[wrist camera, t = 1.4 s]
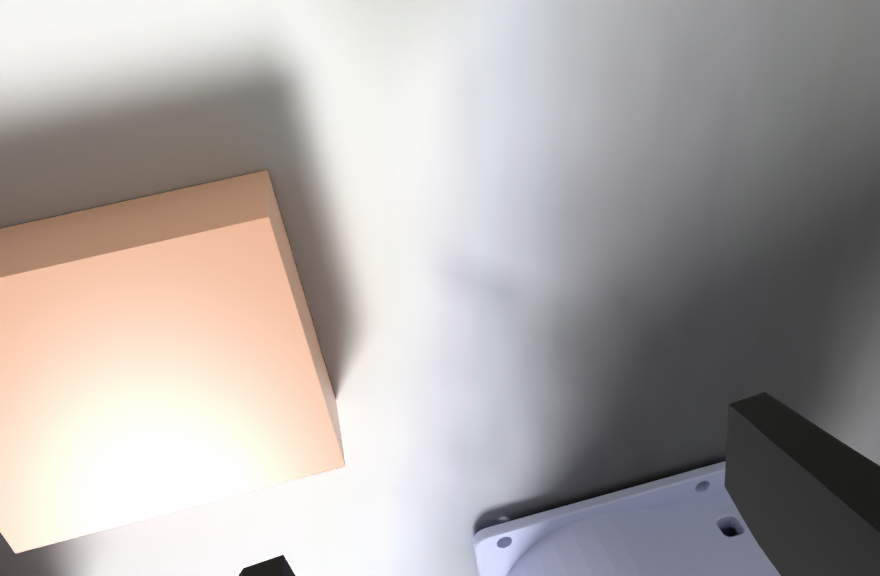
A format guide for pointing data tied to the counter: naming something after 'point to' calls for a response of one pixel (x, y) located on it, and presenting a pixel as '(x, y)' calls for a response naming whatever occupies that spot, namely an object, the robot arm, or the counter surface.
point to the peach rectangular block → (155, 362)
